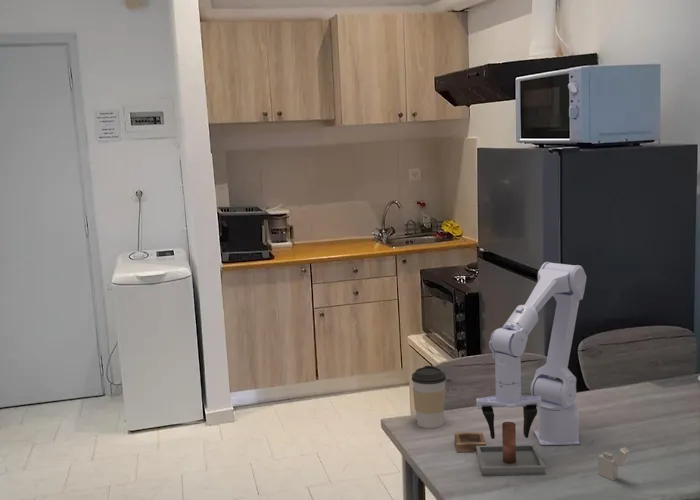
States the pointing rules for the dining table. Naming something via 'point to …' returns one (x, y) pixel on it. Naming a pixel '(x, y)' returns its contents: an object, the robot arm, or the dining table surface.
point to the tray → (524, 465)
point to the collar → (469, 437)
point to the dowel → (509, 442)
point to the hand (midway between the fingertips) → (509, 436)
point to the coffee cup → (429, 396)
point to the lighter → (611, 463)
